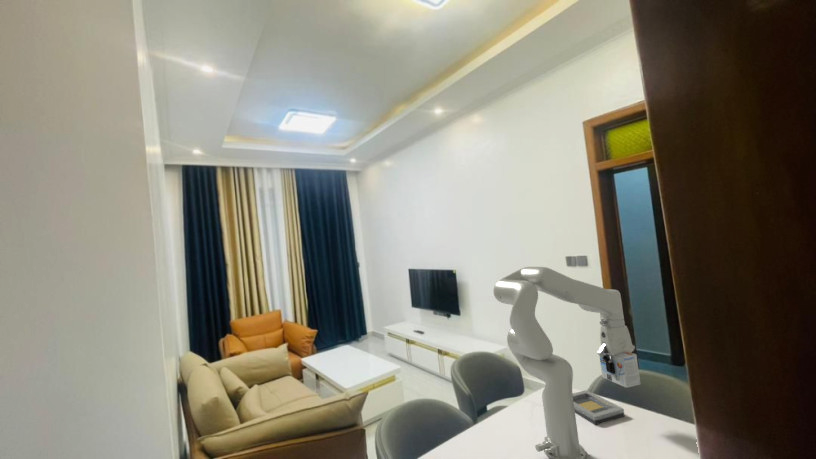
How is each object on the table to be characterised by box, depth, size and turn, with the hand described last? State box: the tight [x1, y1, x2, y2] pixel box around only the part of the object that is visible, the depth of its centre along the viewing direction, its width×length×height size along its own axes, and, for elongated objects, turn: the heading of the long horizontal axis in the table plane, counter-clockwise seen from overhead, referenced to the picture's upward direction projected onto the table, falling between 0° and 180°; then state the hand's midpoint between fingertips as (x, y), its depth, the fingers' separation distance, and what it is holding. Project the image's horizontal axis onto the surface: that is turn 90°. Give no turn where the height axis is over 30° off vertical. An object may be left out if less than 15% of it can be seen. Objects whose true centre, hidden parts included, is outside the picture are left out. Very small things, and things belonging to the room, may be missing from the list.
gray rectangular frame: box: [572, 389, 625, 426], centre depth 128 cm, size 14×18×3 cm
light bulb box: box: [598, 352, 641, 388], centre depth 117 cm, size 11×7×11 cm, turn 15°
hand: (619, 370), depth 117 cm, fingers closed on light bulb box, 6 cm apart
